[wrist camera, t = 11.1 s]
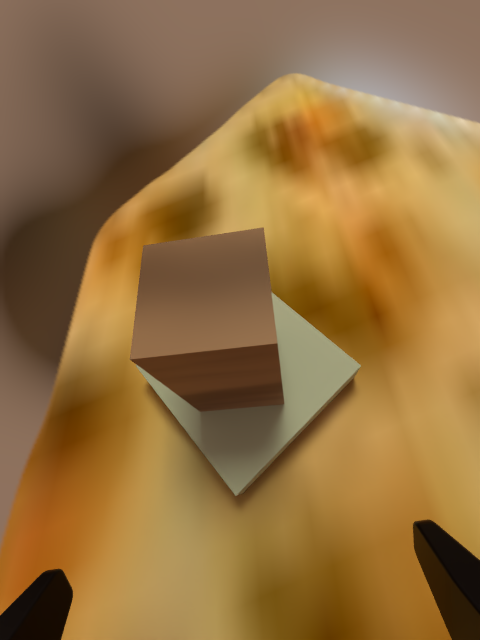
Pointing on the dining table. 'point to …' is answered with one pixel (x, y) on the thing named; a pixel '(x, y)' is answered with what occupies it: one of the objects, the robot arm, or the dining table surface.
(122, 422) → the dining table surface
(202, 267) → the walnut block
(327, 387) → the sage slab
